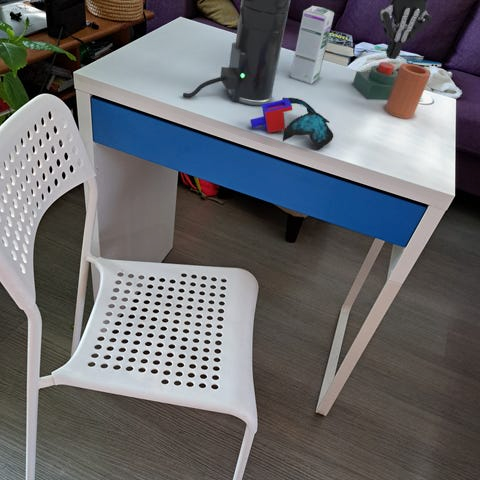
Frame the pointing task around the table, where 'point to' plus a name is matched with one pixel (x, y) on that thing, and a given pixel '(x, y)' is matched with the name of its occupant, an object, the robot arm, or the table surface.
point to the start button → (385, 68)
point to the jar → (407, 90)
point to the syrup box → (311, 43)
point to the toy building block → (273, 115)
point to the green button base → (374, 83)
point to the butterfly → (309, 126)
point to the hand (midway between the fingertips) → (390, 57)
